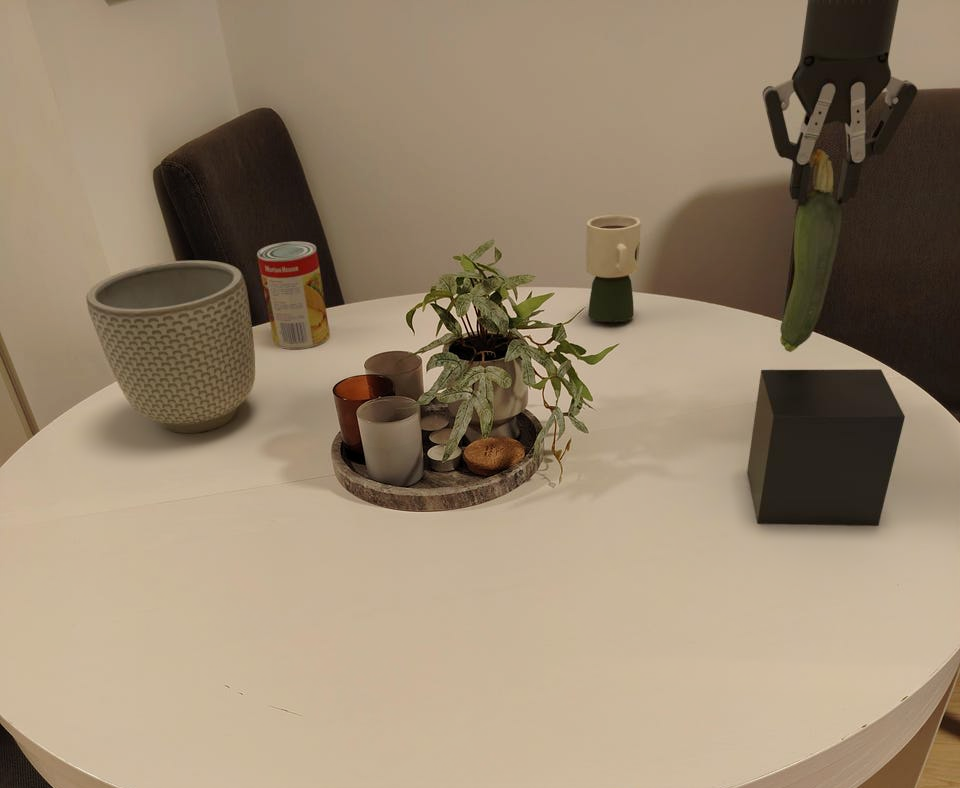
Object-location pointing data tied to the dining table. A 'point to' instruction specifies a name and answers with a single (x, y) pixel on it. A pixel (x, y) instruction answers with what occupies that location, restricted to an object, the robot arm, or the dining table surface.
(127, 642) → the dining table surface
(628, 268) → the character mug
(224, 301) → the planter
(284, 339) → the canned food
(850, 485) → the matte black cube
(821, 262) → the vegetable
